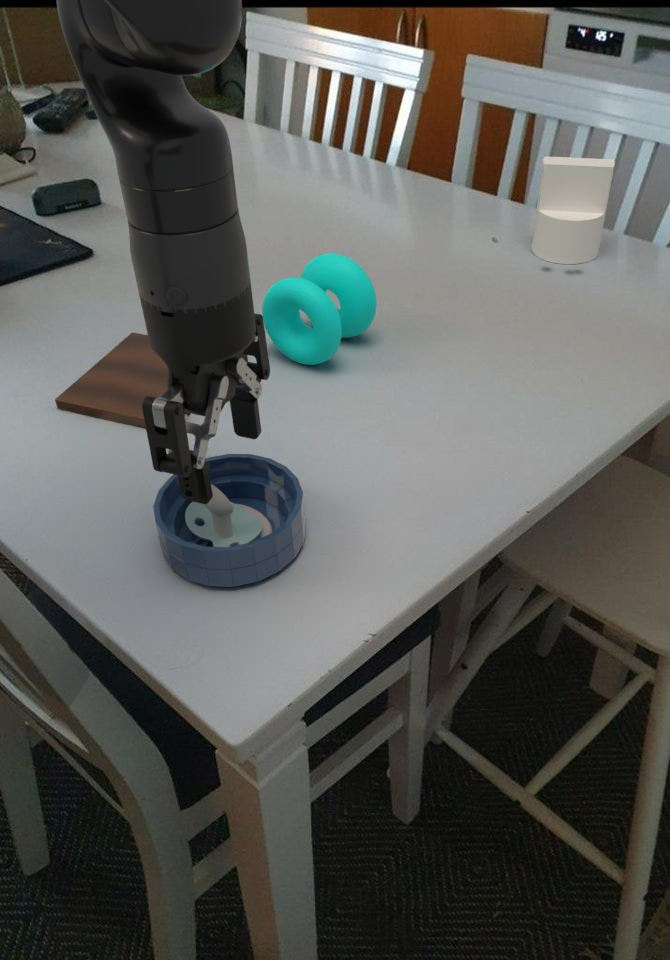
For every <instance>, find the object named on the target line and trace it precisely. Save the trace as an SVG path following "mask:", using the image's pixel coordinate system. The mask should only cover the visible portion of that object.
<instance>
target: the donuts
mask: <svg viewBox="0 0 670 960" xmlns="http://www.w3.org/2000/svg"><path fill="white" fill-rule="evenodd" d="M327 291H330V292H331V293H333V295H335V296H336V298H337V300H338V302H339V308H338V307H336V306H337V305H336V304H335V303H334V301H333V300H332V298H331V297H330V296H329V295H328V293H327ZM261 310H262V314H261V315H262V316H263V322H264V329H265V331H266V333H267V336H268V337H269V339H270V340H271V342H272V343H273V345H274V346H275V347H276V348H277V349H278V350H279V352H281V353H282V355H284V356H286V357H287V358H288V359H290V360H292V361H293V362H296V363H298V364H301V365H307V366H317V365H320V364H322V363H325V362H327V361H328V360H330V359H331V358H332V357H333V356H334V355H335V354H336V352H337V350H338V349H339V347H340V345H341V341H342V339H348V338H354V337H357V336H360V335H361V334H363V333H364V332H365V331H366V330H368V328H370V326H371V324H372V323H373V322H374V319H375V316H376V311H377V296H376V291H375V287H374V285H373V283H372V280H371V279H370V277H369V276H368V274H367V272H366V271H365V269H363V268H362V267H361V265H359V264H358V263H357V262H356V261H355V260H353V259H352V258H350V257H348V256H345V255H344V254H339V253H334V252H328V253H322V254H319V255H317V256H315V257H313V258H312V259H310V261H309V262H308V263H307V264H306V266H305V267H304V268H303V270H302V272H301V275H300V277H295V276H294V277H285V278H282V279H280V280H278V281H276V282H275V283H273V284H272V285H271V286H270V288H269V289H268V290H267V291H266V293H265V296H264V298H263V302H262V309H261ZM300 311H302V312H303V313H304V314H305V315H306V316H307V318H308V319H309V321H310V323H311V327H310V326H309V325H307V324H306V323H305V322H304V321H303V319H302V317H301V313H300Z"/></svg>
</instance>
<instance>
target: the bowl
mask: <svg viewBox="0 0 670 960" xmlns="http://www.w3.org/2000/svg"><path fill="white" fill-rule="evenodd" d="M205 462H207V465H208V471H209V476H210V482H211V484H212V485H214V486H215V487H217V488H218V489H219V490H220V491H221V492H222V493H223V494H224V495H225V496H226V497H227V498H228V500H229V501H230V502H232V503H234V504H241V505H245V506H248V507H251V508H253V509H255V510H257V511H259V512H260V513H261V514H263V515H264V516H265V517H266V518H267V519H268V521H269V522H270V525H271V527H272V533H271V534H269V535H266V536H264V537H262V538H260V539H258V540H255V541H253V542H251V543H246V544H241V545H236V546H231V547H214V546H213V543H212V542H210V541H206V540H203V539H200V538H198V537H197V536H195V535H194V534H193V533H192V532H191V531H190V530H189V528H188V526H187V524H186V520H185V512H186V509H187V507H188V506H189V505H190V504H191V503H192V502H193V501H189V500H187V499H184V498H183V496H182V494H181V489H180V485H179V480H178V475H174V474H171V476H170V477H168V479H167V480H166V481H165V482H164V484H163V485H162V486H161V487H160V488H159V489H158V491H157V494H156V496H155V498H154V499H155V500H154V502H153V505H152V508H153V516H154V523H155V528H156V531H157V535H158V539H159V543H160V548H161V551H162V555H163V558H164V560H165V561H166V562H167V564H168V565H169V566H170V568H171V570H173V571H174V572H176V573H177V574H179V575H180V576H181V577H183V578H184V579H186V580H188V581H190V582H194V583H198V584H201V585H204V586H208V587H219V588H220V587H222V588H223V587H225V588H229V587H230V588H231V587H232V588H233V587H238V586H243V585H249V584H253V583H257V582H260V581H262V580H264V579H266V578H269V577H270V576H273V575H275V574H277V573H278V572H280V571H282V570H283V569H284V568H285V567H286V566H287V565H289V564H290V563H291V562H292V561H293V560H294V559H295V558H296V557H297V556H298V553H299V552H300V550H301V548H302V547H303V545H304V543H305V536H306V528H307V527H306V514H305V503H304V502H305V501H304V492H303V489H302V486H301V483H300V480H299V478H298V477H297V476H296V475H295V473H293V472H292V471H291V470H290V469H289V467H288V466H286V465H284V464H282V463H280V462H278V461H276V460H274V459H273V458H269V457H266V456H263V455H256V454H253V453H251V454H250V453H225V454H220V455H214V456H208V457H206V459H205ZM195 524H196V525H198V526H203V525H204V524H205V523H204V522H203V521H202V520H197V521H195Z"/></svg>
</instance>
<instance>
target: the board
mask: <svg viewBox="0 0 670 960" xmlns="http://www.w3.org/2000/svg"><path fill="white" fill-rule="evenodd" d="M167 384H168V367H167V365H166V364H165V362H164V361H163V360H162V359H161V358H160V357H159V356H158V355H157V354H156V353H155V352H154V351H153V349H152V348H151V346H150V343H149V338H148V334H144V333H138V332H131V333H129V334H128V335H127V336H126V337H125V338H123V340H122V341H120V342H119V343H118V344H117V345H115V347H113V348H112V349H111V350H110V351H109V352H108V353H107V354H105V355H104V356H103V357H102V358H101V359H100V360H98V361H97V362H95V364H94V365H92V366H91V367H90V368H89V369H88V370H87V371H86V372H85V373H83V374H82V375H81V376H80V377H78V378H77V379H76V381H74V382H73V383H72V384H71V385H69V386H68V387H67V388H66V389H65V390H63V392H62V393H60V394H59V395H58V396H57V397H56V398H55V399H54V401H55V405H56V409H58V410H62V411H68V412H71V413H76V414H79V415H85V416H90V417H94V418H99V419H103V420H108V421H113V422H115V423H116V422H117V423H121V424H126V425H130V426H134V427H138V428H144V429H146V426H145V420H144V415H143V410H142V404H143V401H144V399H145V398H146V397H147V396H151V397H156V398H159V397H160V396H161V395H163V394H164V393H165V392H166V391H167V390H168V388H167ZM184 413H185V414H187V415H188V416H189V415H190V414H191V413H190V412H188V411H187V410H186V409H185V408H184Z"/></svg>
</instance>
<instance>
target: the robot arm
mask: <svg viewBox="0 0 670 960" xmlns="http://www.w3.org/2000/svg"><path fill="white" fill-rule="evenodd" d="M55 1H56V9H57V14H58V19H59V23H60V26H61V27H60V28H61V30H62V35H63V37H64V40H65V43H66V46H67V49H68V51H69V54H70V57H71V59H72V61H73V62H72V63H73V64H74V67H75V70H76V71H77V74H78V76H79V78H80V81H81V83H82V85H83V88H84V90H85V93H86V95H87V97H88V99H89V102H90V104H91V106H92V108H93V111H94V114H95V115H96V118H97V120H98V122H99V124H100V126H101V128H102V130H103V132H104V134H105V135H106V138H107V140H108V142H109V145H110V146H111V149H112V151H113V154H114V159H115V165H116V171H117V176H118V181H119V186H120V191H121V195H122V200H123V204H124V205H123V206H124V209H125V215H126V219H127V226H128V235H129V237H128V238H129V252H130V257H131V263H132V267H133V273H134V277H135V283H136V286H137V291H138V295H139V296H138V297H139V300H140V306H141V308H142V314H143V319H144V324H145V327H146V335H148V338H149V343H150V346H151V348H152V349H153V351H154V352H155V353H156V354H157V355H158V356H159V357H160V358H161V359H162V360H163V361H164V362H165V364H166V365H167V367H168V384H167V388H168V390H167V391H166V392H165V393H164V394H163V395H161V396H160V397H159V398H156V397H151V396H147V397H146V398H145V399H144V401H143V404H142V410H143V415H144V420H145V426H146V428H145V431H146V435H147V442H148V446H149V452H150V457H151V461H152V462H151V463H152V468H153V470H154V471H155V472H160V473H165V474H170V475H178V480H179V485H180V489H181V494H182V496H183V498H184V499H187V500H189V501H193V502H197V503H201V504H208V502H209V501H210V500H211V499H212V497H213V493H212V488H211V482H210V476H209V471H208V465H207V462H205V459H206V458H207V452H208V448H209V441H210V440H211V439H212V438H214V437H215V436H216V435H217V432H218V427H219V423H220V422H219V421H220V416H221V412H222V411H223V409H224V407H225V405H226V404H227V403H228V402H229V406H230V412H231V420H232V426H233V432H234V434H235V435H236V436H238V437H241V438H245V439H250V440H257V439H258V438H259V437H260V435H261V434H262V425H261V417H260V416H261V415H260V409H259V402H258V401H259V400H258V399H259V398H260V397H261V394H262V391H263V390H262V389H263V388H262V384H261V382H262V380H264V381H267V380H268V379H269V377H270V374H271V366H270V365H271V364H270V358H269V357H270V356H269V350H268V343H267V337H266V328H265V325H264V321H263V314H260V313H255V307H254V299H253V291H252V282H251V280H252V279H251V273H250V271H251V270H250V263H249V255H248V246H247V240H246V235H245V232H244V228H243V223H242V221H241V216H240V210H239V203H238V195H237V186H236V177H235V168H234V161H233V154H232V147H231V143H230V138H229V134H228V131H227V128H226V126H225V124H224V123H223V121H222V120H221V118H219V116H217V115H216V114H215V113H213V112H212V111H211V110H209V109H208V108H207V107H205V106H204V105H202V104H201V103H200V102H198V101H197V100H196V99H195V98H194V97H193V96H192V95H191V93H190V92H189V90H188V89H187V86H186V84H185V81H184V79H183V76H195V75H201V74H204V73H206V72H209V71H211V70H213V69H214V68H217V66H219V65H220V64H222V63H223V62H224V61H225V60H226V58H228V56H229V55H230V54H231V52H232V50H233V49H234V47H235V45H236V43H237V41H238V37H239V35H240V32H241V28H242V27H241V26H242V19H243V2H242V1H243V0H55ZM248 356H252V357H253V358H255V360H256V362H252V361H249V359H248ZM184 408H185V409H186V410H187V411H188V412H190V414H191V415H196V416H200V417H204V420H203V422H202V423H201V424H199V423H194V422H189V421H187V420H188V419H189V415H187V414H185V413H184ZM188 434H190V435H193V436H194V444H193V450H192V449H190V443H189V438H188ZM167 450H168V453H167Z"/></svg>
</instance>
